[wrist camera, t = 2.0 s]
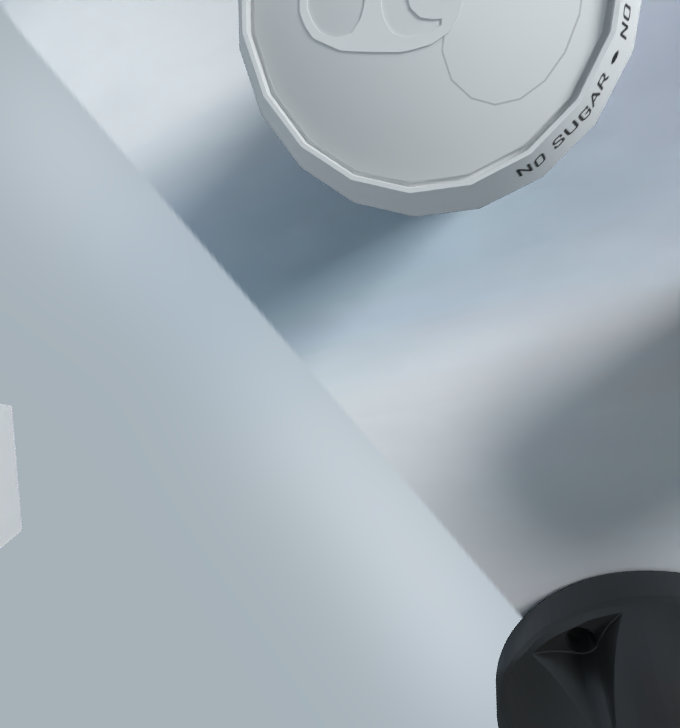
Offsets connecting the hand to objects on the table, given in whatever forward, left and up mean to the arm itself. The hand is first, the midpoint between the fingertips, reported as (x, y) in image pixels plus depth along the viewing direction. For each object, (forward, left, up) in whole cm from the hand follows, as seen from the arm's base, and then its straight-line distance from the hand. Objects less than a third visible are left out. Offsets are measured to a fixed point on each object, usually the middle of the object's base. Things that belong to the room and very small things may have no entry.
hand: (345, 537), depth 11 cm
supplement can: (+9, 0, -19) cm, 21 cm away
